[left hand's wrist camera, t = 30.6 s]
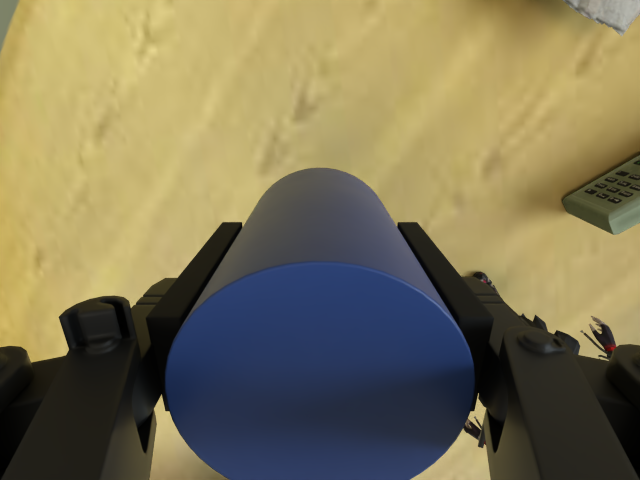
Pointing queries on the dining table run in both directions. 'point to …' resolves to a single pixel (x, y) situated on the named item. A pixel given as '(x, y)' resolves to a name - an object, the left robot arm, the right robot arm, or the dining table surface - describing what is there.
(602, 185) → the handheld radio
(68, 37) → the dining table surface
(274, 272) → the can
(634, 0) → the sculpture
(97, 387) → the left robot arm
